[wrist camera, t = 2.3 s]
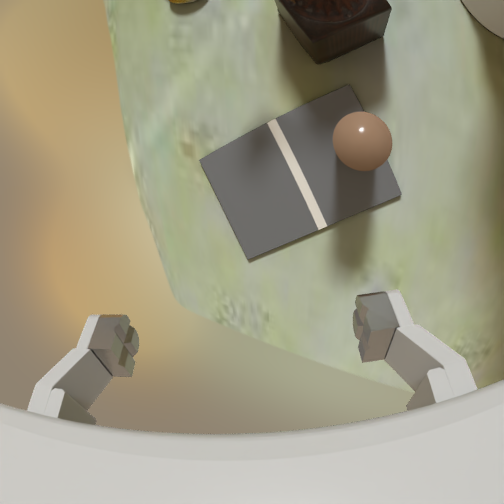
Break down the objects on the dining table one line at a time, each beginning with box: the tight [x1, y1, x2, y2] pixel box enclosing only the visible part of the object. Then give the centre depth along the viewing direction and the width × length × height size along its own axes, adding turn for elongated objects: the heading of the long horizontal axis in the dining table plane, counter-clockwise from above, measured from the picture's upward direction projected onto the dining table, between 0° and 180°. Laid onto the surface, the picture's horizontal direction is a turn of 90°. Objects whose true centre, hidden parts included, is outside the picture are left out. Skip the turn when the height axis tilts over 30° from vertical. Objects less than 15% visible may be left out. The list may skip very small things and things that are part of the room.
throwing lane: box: [199, 85, 402, 259], centre depth 39 cm, size 22×15×1 cm
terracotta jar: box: [333, 112, 392, 171], centre depth 30 cm, size 5×5×12 cm
